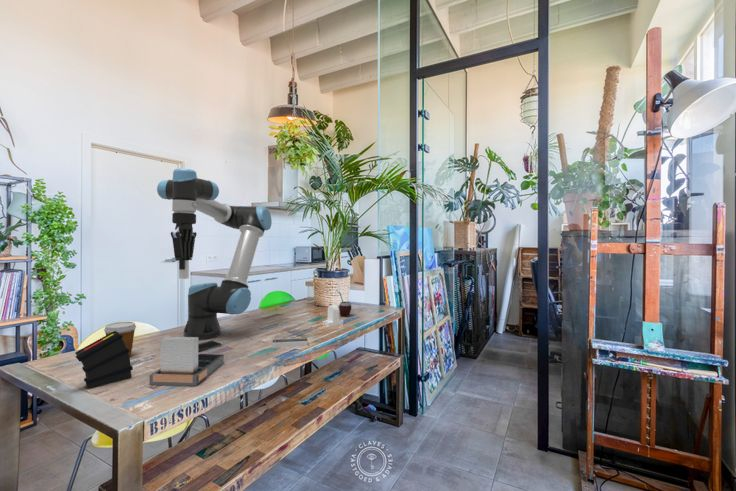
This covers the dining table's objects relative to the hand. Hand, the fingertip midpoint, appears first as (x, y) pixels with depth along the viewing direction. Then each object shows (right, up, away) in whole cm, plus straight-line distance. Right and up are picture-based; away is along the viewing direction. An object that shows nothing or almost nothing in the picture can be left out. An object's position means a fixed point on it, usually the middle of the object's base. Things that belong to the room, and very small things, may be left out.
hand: (183, 278), depth 123 cm
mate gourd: (+53, -29, +74) cm, 95 cm away
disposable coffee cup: (-24, -29, +1) cm, 38 cm away
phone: (0, -30, +13) cm, 32 cm away
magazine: (-13, -30, -20) cm, 38 cm away
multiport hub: (+34, -30, +20) cm, 49 cm away
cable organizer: (+48, -29, +55) cm, 79 cm away
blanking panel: (+8, -29, -17) cm, 35 cm away
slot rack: (+8, -30, -11) cm, 33 cm away
